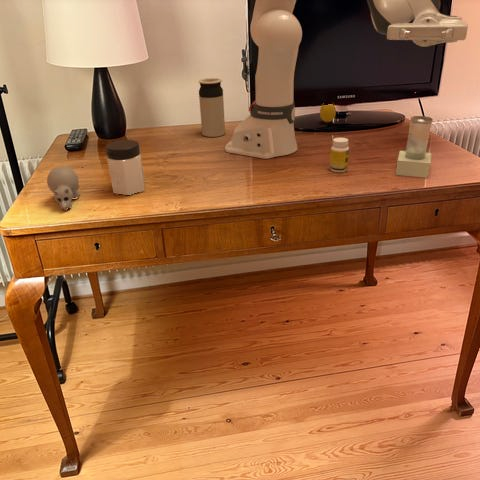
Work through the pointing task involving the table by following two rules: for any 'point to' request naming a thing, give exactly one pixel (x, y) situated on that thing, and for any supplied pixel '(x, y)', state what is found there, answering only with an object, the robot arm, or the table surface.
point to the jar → (125, 167)
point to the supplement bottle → (339, 155)
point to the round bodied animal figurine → (63, 185)
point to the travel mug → (211, 107)
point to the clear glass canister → (418, 137)
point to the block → (413, 166)
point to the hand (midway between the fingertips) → (425, 34)
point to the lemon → (327, 112)
